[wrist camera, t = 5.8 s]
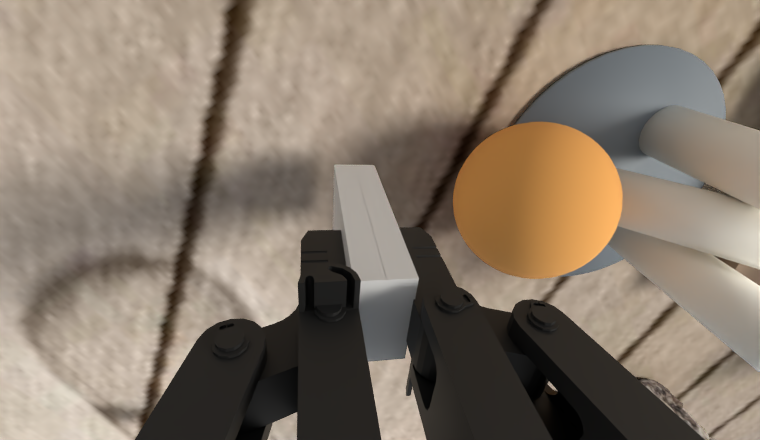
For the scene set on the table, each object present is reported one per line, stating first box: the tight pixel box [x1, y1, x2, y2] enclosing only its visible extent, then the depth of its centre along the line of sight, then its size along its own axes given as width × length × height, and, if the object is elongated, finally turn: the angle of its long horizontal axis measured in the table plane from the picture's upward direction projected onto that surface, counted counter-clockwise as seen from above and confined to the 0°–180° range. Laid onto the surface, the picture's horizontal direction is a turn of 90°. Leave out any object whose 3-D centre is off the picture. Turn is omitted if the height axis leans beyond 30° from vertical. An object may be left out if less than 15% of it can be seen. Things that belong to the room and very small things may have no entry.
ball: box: [453, 122, 623, 279], centre depth 15 cm, size 6×6×6 cm
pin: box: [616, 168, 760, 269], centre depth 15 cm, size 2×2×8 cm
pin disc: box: [515, 45, 726, 276], centre depth 18 cm, size 12×12×1 cm
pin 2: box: [607, 226, 760, 372], centre depth 16 cm, size 2×2×8 cm
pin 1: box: [639, 105, 760, 210], centre depth 14 cm, size 2×2×8 cm
